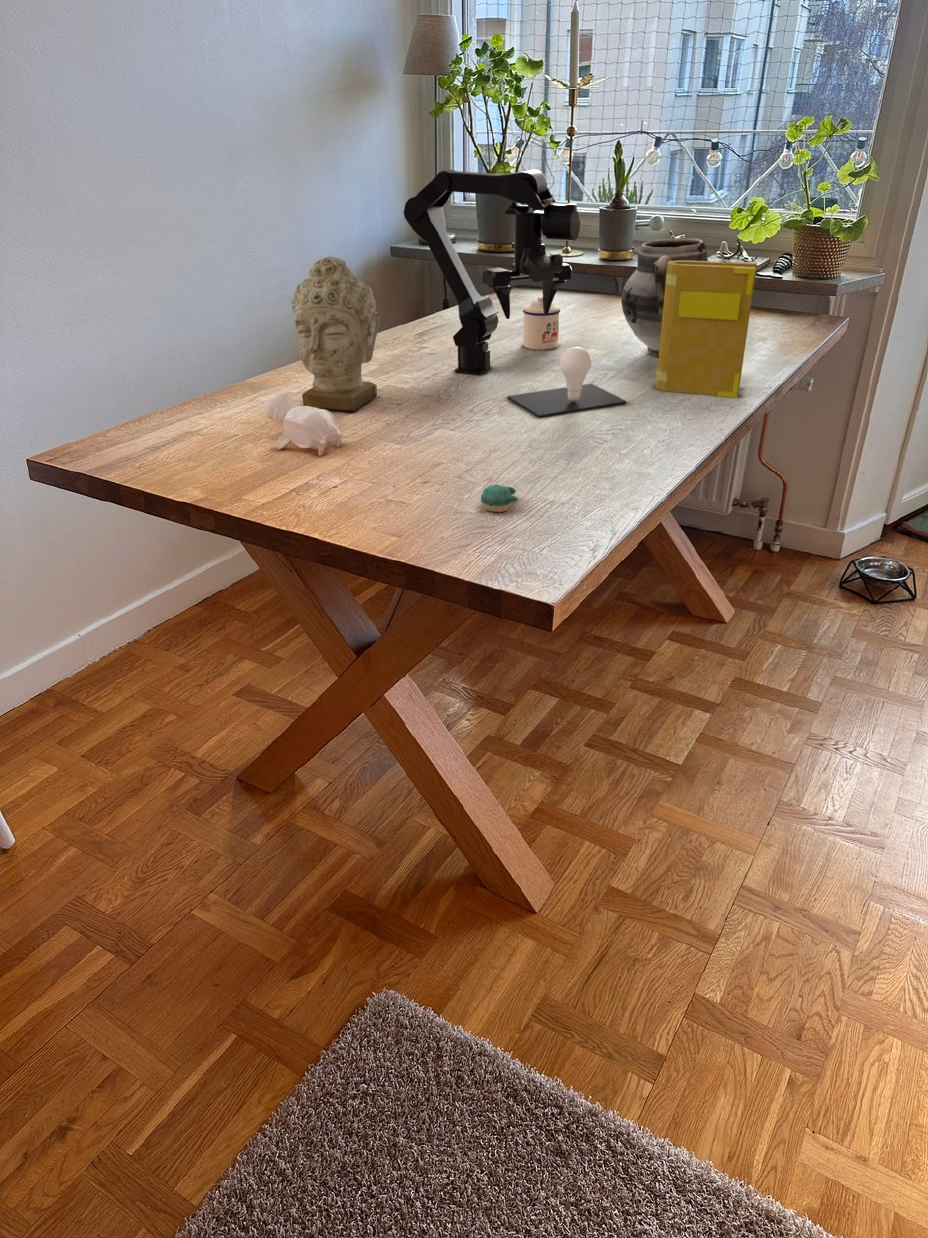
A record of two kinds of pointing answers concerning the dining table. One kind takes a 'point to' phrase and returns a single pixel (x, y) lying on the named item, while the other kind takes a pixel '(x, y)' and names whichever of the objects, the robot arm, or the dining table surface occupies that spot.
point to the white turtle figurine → (302, 424)
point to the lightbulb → (575, 370)
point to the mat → (565, 401)
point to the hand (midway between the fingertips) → (526, 316)
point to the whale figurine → (498, 498)
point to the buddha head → (335, 335)
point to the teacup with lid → (540, 326)
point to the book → (704, 326)
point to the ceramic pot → (654, 285)
